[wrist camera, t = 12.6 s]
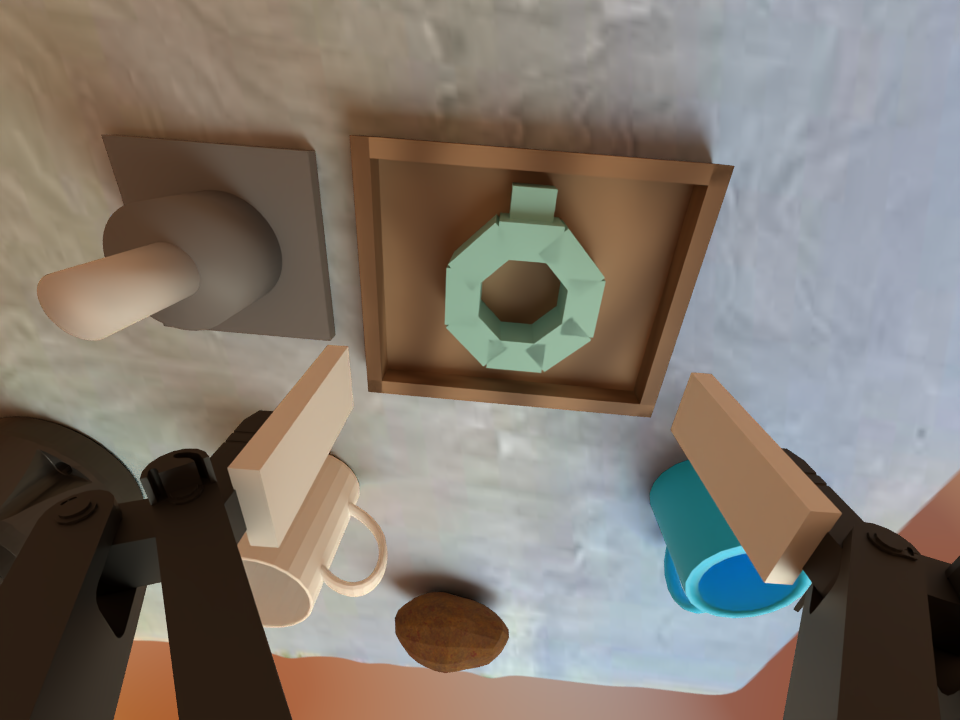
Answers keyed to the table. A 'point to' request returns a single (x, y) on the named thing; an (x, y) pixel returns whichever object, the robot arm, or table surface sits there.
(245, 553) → the mug
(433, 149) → the tray
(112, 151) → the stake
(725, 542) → the mug
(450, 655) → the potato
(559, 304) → the ring
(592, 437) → the table surface
